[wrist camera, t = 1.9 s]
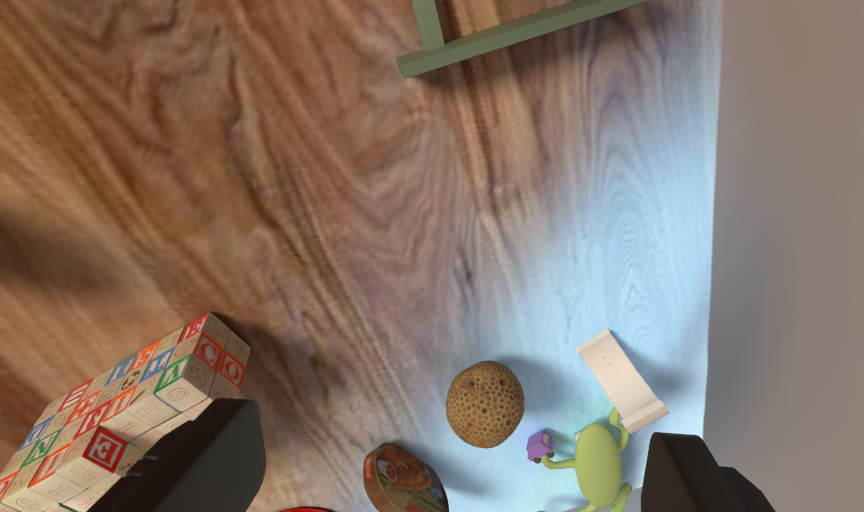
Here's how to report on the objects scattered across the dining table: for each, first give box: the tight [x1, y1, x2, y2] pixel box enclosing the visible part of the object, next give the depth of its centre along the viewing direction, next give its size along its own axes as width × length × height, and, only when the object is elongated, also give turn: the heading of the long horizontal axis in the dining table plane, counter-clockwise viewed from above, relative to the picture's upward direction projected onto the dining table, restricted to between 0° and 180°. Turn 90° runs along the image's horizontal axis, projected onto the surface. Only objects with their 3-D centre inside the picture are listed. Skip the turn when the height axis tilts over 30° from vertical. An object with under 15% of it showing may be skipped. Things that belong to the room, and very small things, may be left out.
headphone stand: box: [576, 329, 669, 434], centre depth 54 cm, size 5×6×12 cm
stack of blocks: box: [0, 312, 251, 512], centre depth 44 cm, size 21×6×12 cm, turn 119°
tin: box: [363, 443, 449, 512], centre depth 60 cm, size 15×3×8 cm, turn 37°
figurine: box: [527, 406, 649, 512], centre depth 68 cm, size 18×27×6 cm
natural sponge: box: [446, 361, 524, 448], centre depth 52 cm, size 9×9×10 cm
